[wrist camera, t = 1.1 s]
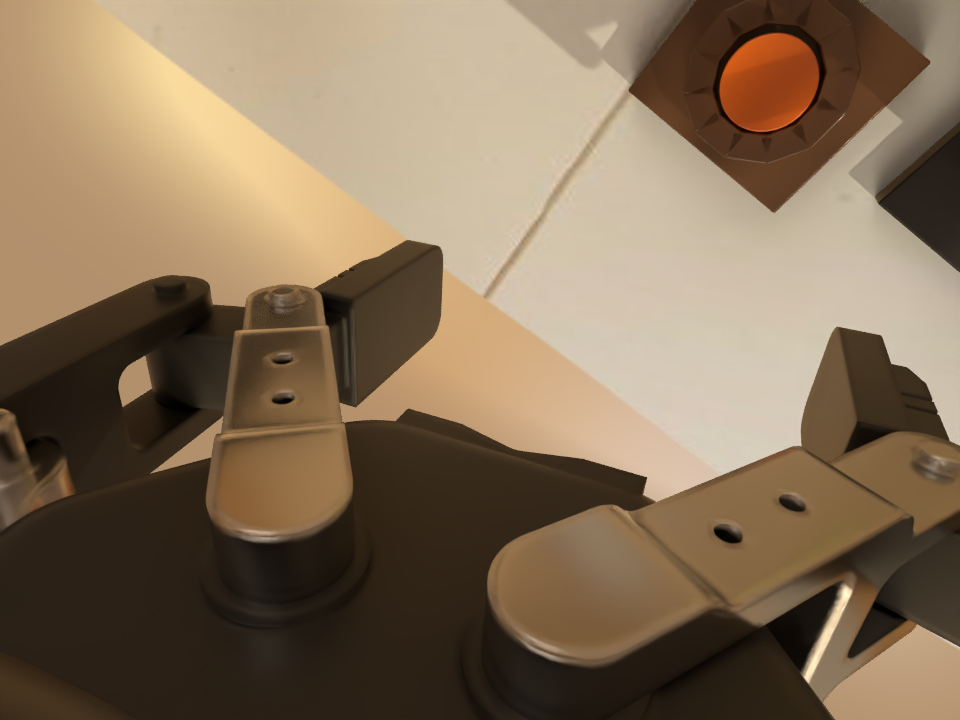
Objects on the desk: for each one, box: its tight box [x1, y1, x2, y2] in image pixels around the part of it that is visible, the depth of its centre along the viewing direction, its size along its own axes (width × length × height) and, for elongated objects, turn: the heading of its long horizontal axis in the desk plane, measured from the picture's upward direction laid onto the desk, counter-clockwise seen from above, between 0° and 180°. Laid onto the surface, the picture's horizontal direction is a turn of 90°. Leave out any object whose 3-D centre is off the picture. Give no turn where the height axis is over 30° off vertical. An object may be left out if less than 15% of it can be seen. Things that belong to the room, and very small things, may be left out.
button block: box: [629, 0, 930, 213], centre depth 28 cm, size 9×8×4 cm
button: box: [720, 32, 819, 132], centre depth 26 cm, size 4×4×2 cm
